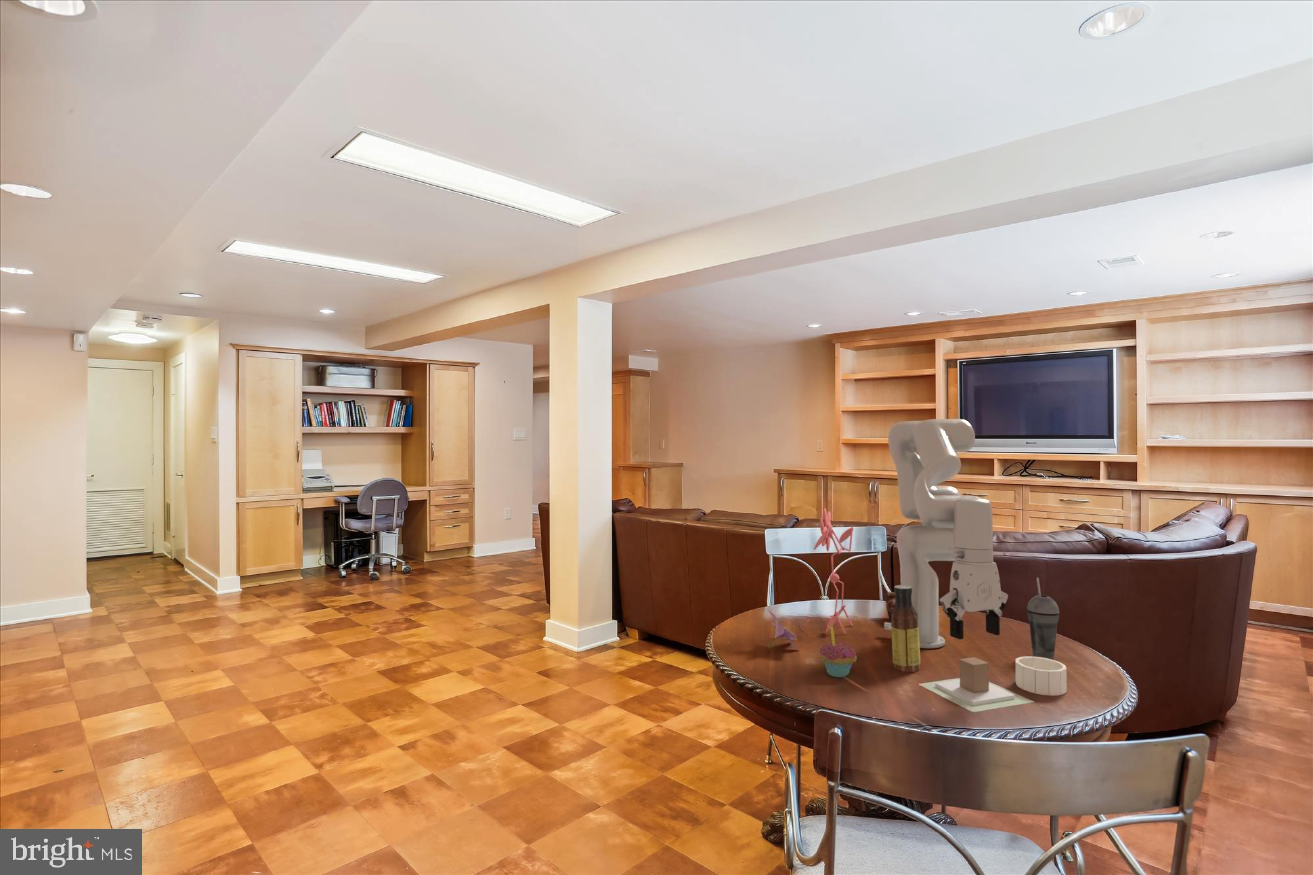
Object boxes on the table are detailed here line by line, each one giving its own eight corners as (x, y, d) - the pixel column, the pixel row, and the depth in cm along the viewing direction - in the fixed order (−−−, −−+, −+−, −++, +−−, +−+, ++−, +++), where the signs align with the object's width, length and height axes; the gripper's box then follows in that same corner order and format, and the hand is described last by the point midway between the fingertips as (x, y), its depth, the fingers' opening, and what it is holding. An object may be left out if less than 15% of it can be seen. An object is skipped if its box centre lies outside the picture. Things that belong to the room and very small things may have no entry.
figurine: (861, 619, 201) (857, 504, 201) (842, 642, 178) (838, 513, 179) (811, 614, 208) (808, 503, 209) (787, 636, 186) (783, 512, 186)
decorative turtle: (895, 613, 208) (897, 588, 207) (935, 629, 194) (937, 602, 194) (872, 616, 203) (874, 590, 203) (911, 632, 190) (914, 604, 189)
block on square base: (973, 705, 135) (973, 672, 135) (935, 686, 146) (935, 655, 146) (1015, 698, 139) (1015, 666, 139) (974, 680, 149) (974, 650, 149)
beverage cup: (1065, 663, 161) (1064, 581, 161) (1032, 661, 163) (1032, 580, 163) (1053, 653, 169) (1052, 575, 169) (1022, 651, 170) (1021, 574, 170)
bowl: (1016, 692, 143) (1016, 667, 143) (1015, 677, 152) (1014, 654, 152) (1068, 700, 139) (1068, 674, 139) (1063, 684, 147) (1063, 660, 147)
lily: (794, 663, 166) (809, 627, 168) (751, 641, 169) (767, 606, 171) (792, 662, 177) (806, 629, 179) (752, 642, 180) (766, 609, 182)
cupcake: (836, 682, 150) (836, 629, 150) (811, 671, 157) (811, 620, 157) (864, 676, 154) (864, 624, 154) (838, 665, 161) (838, 616, 161)
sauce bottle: (919, 666, 160) (919, 584, 160) (921, 675, 154) (920, 590, 154) (891, 663, 162) (890, 582, 162) (891, 672, 156) (890, 588, 156)
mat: (973, 714, 132) (973, 712, 132) (918, 685, 147) (918, 684, 147) (1034, 703, 137) (1034, 701, 137) (975, 677, 152) (975, 675, 152)
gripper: (954, 560, 136) (955, 644, 135) (1019, 556, 141) (1020, 636, 141) (928, 555, 143) (929, 634, 142) (991, 551, 148) (992, 628, 148)
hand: (975, 635), depth 142 cm, fingers open, 9 cm apart
